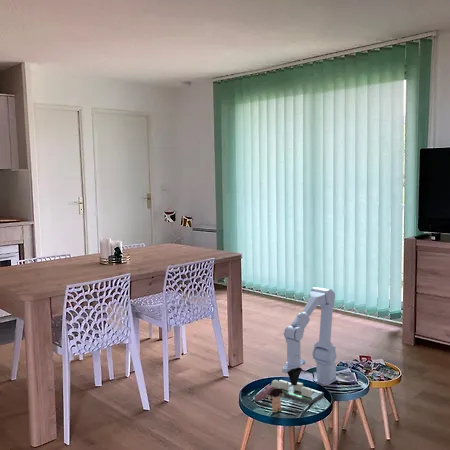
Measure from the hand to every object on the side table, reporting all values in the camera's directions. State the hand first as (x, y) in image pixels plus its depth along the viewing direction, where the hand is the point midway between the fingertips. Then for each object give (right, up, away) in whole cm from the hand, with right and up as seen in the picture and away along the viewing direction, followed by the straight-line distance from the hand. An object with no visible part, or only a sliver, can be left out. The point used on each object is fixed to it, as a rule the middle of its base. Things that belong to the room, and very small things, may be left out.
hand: (294, 384), depth 220 cm
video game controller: (-12, -6, 0) cm, 14 cm away
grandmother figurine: (-9, -7, -13) cm, 17 cm away
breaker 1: (-4, -3, +5) cm, 7 cm away
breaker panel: (+2, -5, +3) cm, 6 cm away
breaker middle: (+2, -3, +3) cm, 5 cm away
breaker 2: (+5, -4, -3) cm, 7 cm away
